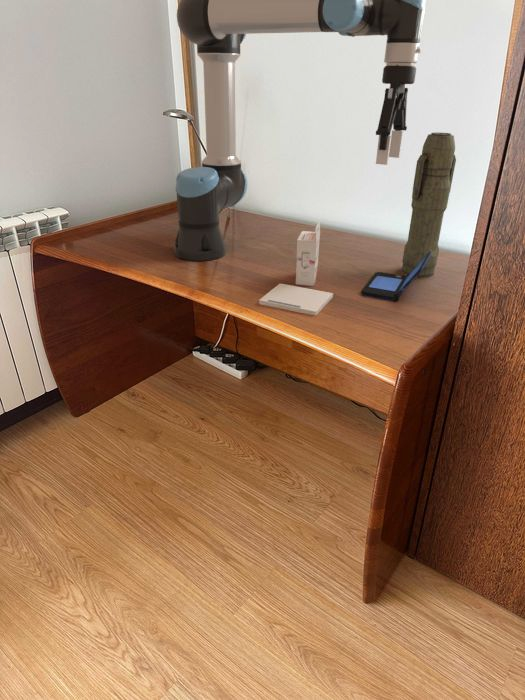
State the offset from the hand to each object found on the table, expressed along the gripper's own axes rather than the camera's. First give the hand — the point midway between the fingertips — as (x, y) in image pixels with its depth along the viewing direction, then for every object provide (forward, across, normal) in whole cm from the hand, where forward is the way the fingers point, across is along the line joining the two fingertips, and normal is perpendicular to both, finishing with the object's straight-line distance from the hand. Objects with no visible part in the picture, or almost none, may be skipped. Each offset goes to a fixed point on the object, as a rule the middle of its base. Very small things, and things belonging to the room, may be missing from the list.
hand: (388, 160), depth 128 cm
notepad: (+28, -33, +10) cm, 45 cm away
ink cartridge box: (+28, -19, +13) cm, 37 cm away
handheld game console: (+28, -15, -9) cm, 34 cm away
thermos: (+28, +1, -12) cm, 31 cm away
